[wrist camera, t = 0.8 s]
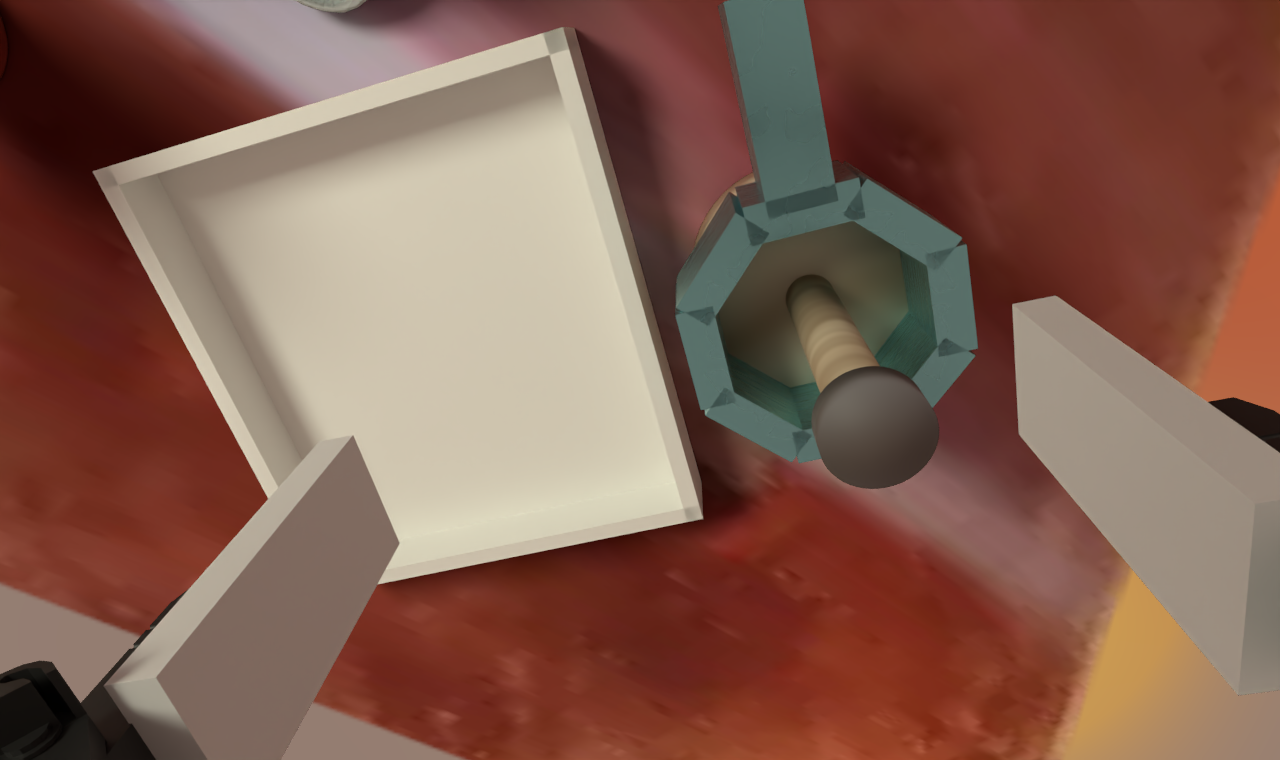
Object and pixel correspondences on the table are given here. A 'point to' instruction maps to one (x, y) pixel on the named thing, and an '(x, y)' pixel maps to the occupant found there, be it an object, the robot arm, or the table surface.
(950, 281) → the ring
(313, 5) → the ceramic mug
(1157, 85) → the table surface
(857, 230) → the wooden peg stand
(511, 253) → the tray
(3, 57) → the beer glass
